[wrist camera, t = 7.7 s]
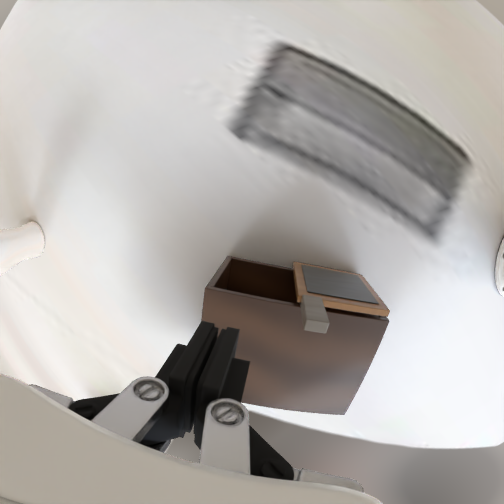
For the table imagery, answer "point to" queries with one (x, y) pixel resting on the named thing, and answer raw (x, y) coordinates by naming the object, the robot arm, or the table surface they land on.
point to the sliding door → (332, 294)
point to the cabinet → (290, 340)
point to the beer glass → (20, 245)
